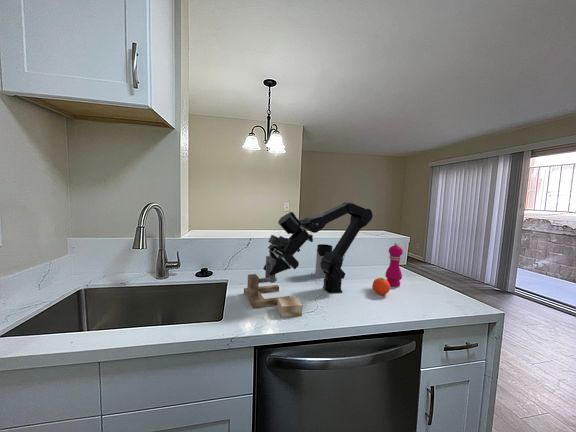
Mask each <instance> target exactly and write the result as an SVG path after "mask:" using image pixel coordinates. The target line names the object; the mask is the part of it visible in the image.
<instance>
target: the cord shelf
mask: <svg viewBox="0 0 576 432" xmlns="http://www.w3.org/2000/svg"><path fill="white" fill-rule="evenodd" d="M277 280H278V279H277V277H276V276H275V282H277ZM262 283H270V278H265V277H262V278H261V277H259V275H257V274H256V273H253V274H252V273H251V274H247V287H244V288H243V294H244V296H245V297H246V299H247V301H248V302H249V304H250V305H251V306H252V309H258V308H266V307H272V306H277V300H278V298H280V297H281V296H278V297H277V296H276V297H269V298H264V296H263V294H266V293H267V294H268V293H277V292H280V286H279V285H278V284H275V285H274V284H273V285H263V286H259V284H262ZM283 297H291V296H290V295H286V296H283Z"/></svg>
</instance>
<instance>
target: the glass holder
mask: <svg viewBox="0 0 576 432" xmlns="http://www.w3.org/2000/svg"><path fill="white" fill-rule="evenodd" d="M316 247H317V249H316V257H315V259H316V260H315V272H314V273H313V274H314V276H315V277H317V278H321V279H324V278H325V275H326V274H324V273H323V270H322V268H321V265H320V263H321V261H322V260H321V259H322V258H323V257H324V254H325V253H326V252H328V253H330V252H332V251H333V249H334V248H333V245H332V244H326V243H325V244H324V243H323V244H321V243H320V244H319V243H318V244H317V246H316ZM345 257H346V256H345V255H344V256H343V261H344V260H345Z"/></svg>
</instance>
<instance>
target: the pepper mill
mask: <svg viewBox="0 0 576 432" xmlns="http://www.w3.org/2000/svg"><path fill="white" fill-rule="evenodd" d="M403 251H404V250H403V247H401V246H399V243H398V242H397V241H396V242H394V245H391V246H389V248H388V253H389V266H388V267H387V268H386V271H385V274H384V276H385V279H386V280H387V281H388V282H389V284H390V287H393V286H395V287H394V288H398V286H399V287H400V286H401V280H402V278H403V273H402V269H401V268H400V267H401V266H400V261H401V260H402V255H403V253H404V252H403Z"/></svg>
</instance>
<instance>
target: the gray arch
mask: <svg viewBox="0 0 576 432" xmlns="http://www.w3.org/2000/svg"><path fill="white" fill-rule="evenodd" d="M265 264H266V270H265V272H264V273H265V277H264V278H270V282H269V283H271V284H274V283H276V281H275V277H276V274H274V275H272V276H270V275H269V273H270V271H271V270H272V269H273V267H274V266H275V265H276V260H275V259H274V258H272V257H271V256H270V255H266V256H265Z"/></svg>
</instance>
